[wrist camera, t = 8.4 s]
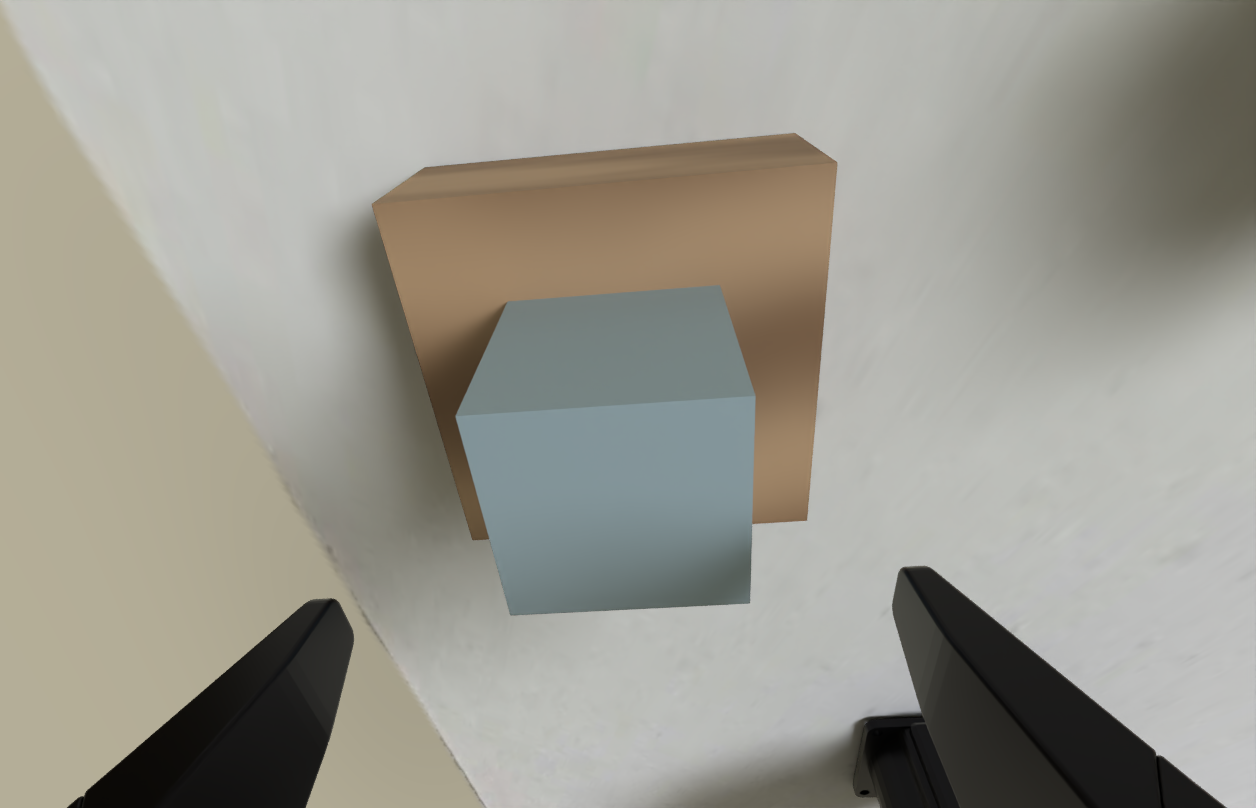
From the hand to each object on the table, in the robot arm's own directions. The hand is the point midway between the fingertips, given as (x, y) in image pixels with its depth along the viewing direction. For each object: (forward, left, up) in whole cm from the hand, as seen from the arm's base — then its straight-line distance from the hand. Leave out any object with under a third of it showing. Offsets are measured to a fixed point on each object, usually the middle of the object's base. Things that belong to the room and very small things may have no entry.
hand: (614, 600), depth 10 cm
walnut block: (0, 0, -11) cm, 11 cm away
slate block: (0, 0, -7) cm, 7 cm away
